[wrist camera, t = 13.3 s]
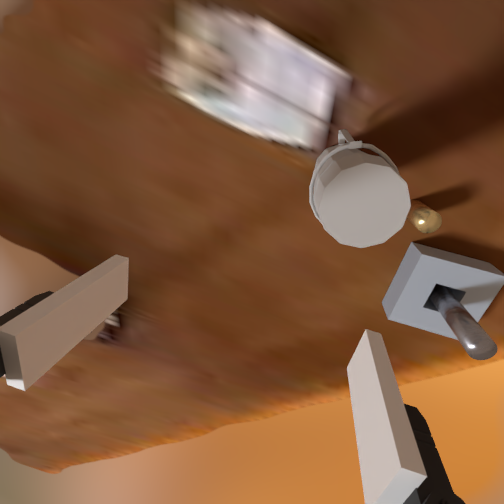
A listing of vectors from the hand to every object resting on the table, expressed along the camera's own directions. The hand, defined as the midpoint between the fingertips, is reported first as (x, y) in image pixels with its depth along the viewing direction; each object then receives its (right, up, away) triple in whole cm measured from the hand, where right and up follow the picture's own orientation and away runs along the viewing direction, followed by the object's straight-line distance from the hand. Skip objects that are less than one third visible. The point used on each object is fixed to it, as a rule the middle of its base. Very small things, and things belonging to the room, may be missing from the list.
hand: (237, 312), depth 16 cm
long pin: (+31, -2, +33) cm, 45 cm away
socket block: (+31, -2, +33) cm, 45 cm away
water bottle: (+14, +17, +28) cm, 36 cm away
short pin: (+25, +10, +29) cm, 40 cm away
